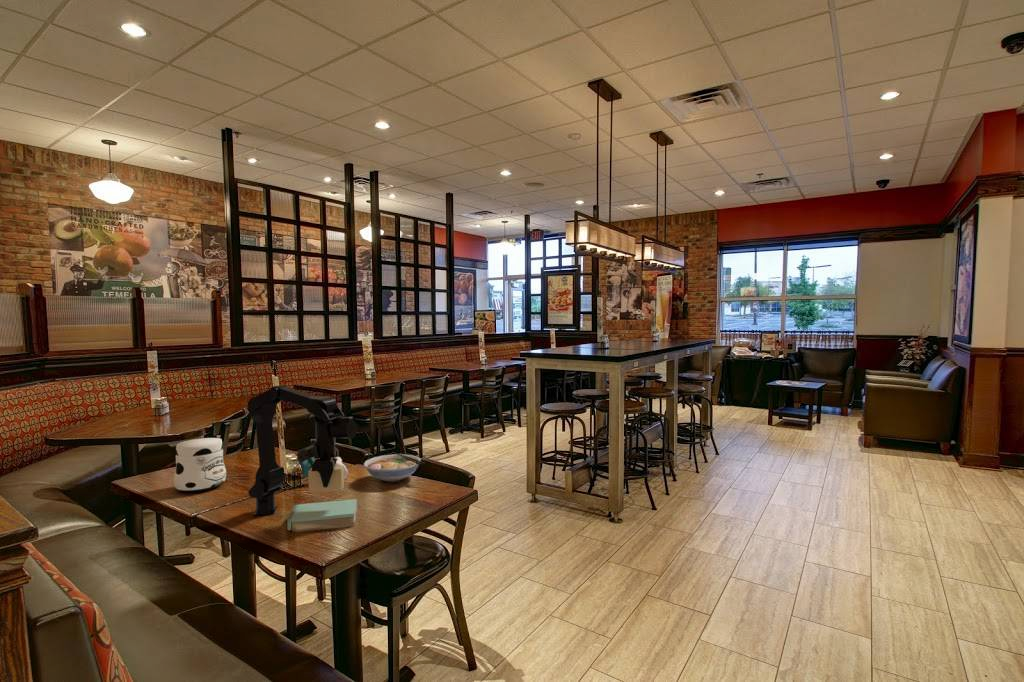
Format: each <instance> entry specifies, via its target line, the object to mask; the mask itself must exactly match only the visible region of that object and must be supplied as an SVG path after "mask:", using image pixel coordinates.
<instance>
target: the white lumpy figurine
mask: <svg viewBox="0 0 1024 682" xmlns="http://www.w3.org/2000/svg"><path fill="white" fill-rule="evenodd" d="M335 458H337V461H336V464H335V466H344V480H346V478H348V476H349V471H348V467H346V465H345V464H343V459H342V458H341V457H340V456H338V457H336V456H335V457H333V459H335Z"/></svg>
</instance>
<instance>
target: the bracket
mask: <svg viewBox="0 0 1024 682" xmlns="http://www.w3.org/2000/svg"><path fill="white" fill-rule="evenodd" d="M296 459H297V458H296ZM297 460H298V461H299V459H297ZM315 460H316V459H314V457H312V458H310V459H307V460H305V461H304V462H302V463H300V461H299V464H300V465H301V468H302V474H303V478H302V479H307V478H309V477H308V471H309V470H310V469H311V468H312V463H313V462H314V461H315Z"/></svg>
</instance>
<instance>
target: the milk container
mask: <svg viewBox="0 0 1024 682" xmlns="http://www.w3.org/2000/svg"><path fill="white" fill-rule="evenodd" d="M222 440H223V439H222V438H218V437H204V438H194V439H188V440H184V441H181V442H178V443H176V447H175V464H176V465H175V471H174V473H173V485H174V488H175V489H176V490H177V491H179V492H183V493H197V492H202V491H203V492H204V491H207V490H211V489H214V488H217V487H219V486H222V484H224V482H225V480H226V479H227V468H226V465H225V463H224V449H223V448H224V446H223V441H222Z"/></svg>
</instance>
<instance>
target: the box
mask: <svg viewBox="0 0 1024 682" xmlns="http://www.w3.org/2000/svg"><path fill="white" fill-rule="evenodd" d="M357 513H358V503H357V504H356V509H355V515H354V517H345V518H335V519H325V520H314V521H304V522H294V523H292V529H291V531H292V532H291V533H298V532H309V531H310V532H311V531H317V530H326V529H327V530H328V529H329V530H330V529H338V528H350V527H355V523H356V517H357Z"/></svg>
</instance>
